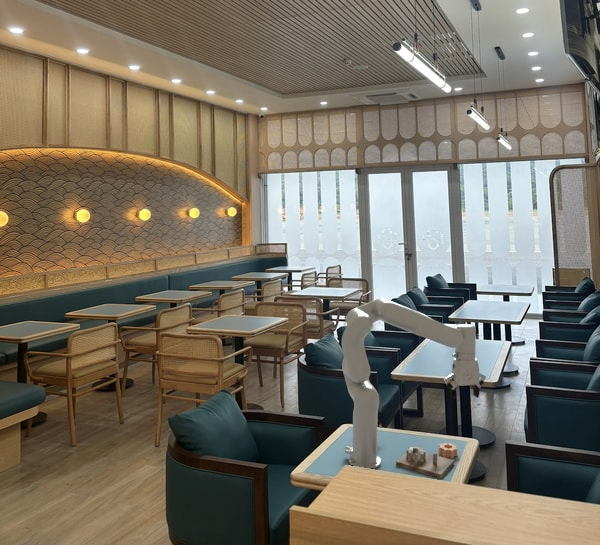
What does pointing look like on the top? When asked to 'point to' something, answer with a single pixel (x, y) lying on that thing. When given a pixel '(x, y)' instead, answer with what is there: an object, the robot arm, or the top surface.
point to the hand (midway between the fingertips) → (464, 397)
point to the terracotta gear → (447, 450)
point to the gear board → (425, 462)
